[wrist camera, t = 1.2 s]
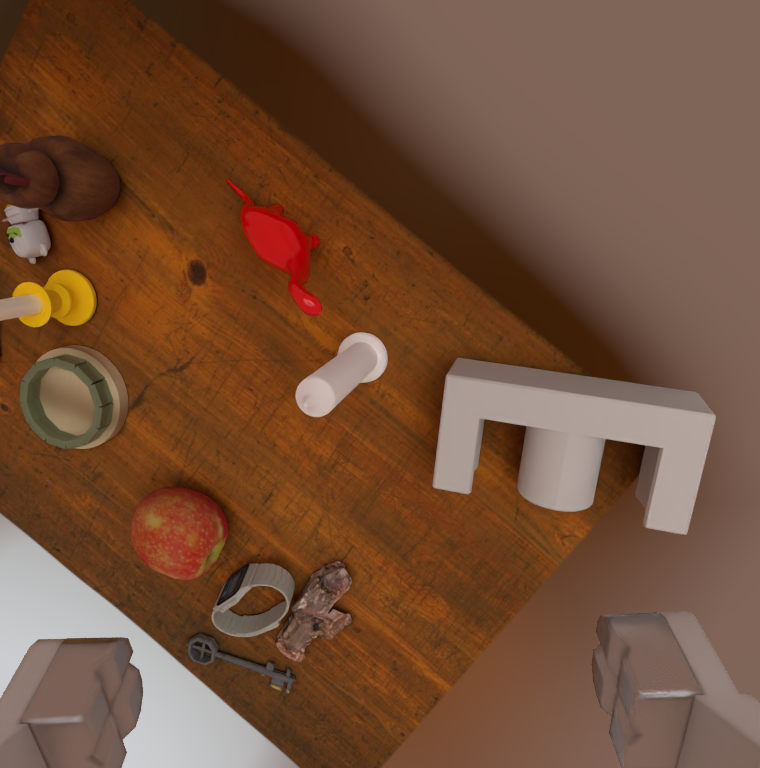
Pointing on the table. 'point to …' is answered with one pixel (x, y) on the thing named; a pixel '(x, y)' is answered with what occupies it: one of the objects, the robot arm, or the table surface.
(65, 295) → the candle
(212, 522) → the apple
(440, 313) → the table surface
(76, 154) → the wooden figurine
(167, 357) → the table surface
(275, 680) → the key
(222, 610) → the wristwatch
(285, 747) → the table surface
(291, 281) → the dinosaur
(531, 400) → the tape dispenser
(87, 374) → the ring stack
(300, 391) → the candle
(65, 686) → the robot arm
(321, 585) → the tree bark
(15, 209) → the toy
